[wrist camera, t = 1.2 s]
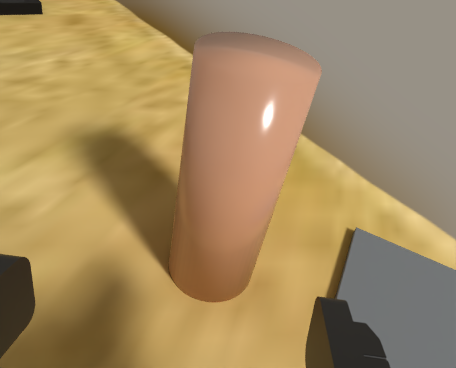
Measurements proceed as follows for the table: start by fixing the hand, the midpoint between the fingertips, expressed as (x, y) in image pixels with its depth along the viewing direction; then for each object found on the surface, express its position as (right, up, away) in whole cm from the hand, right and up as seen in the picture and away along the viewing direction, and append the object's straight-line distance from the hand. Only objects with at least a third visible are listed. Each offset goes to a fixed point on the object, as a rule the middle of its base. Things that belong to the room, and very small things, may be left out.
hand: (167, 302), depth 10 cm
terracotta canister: (+1, -2, +14) cm, 14 cm away
